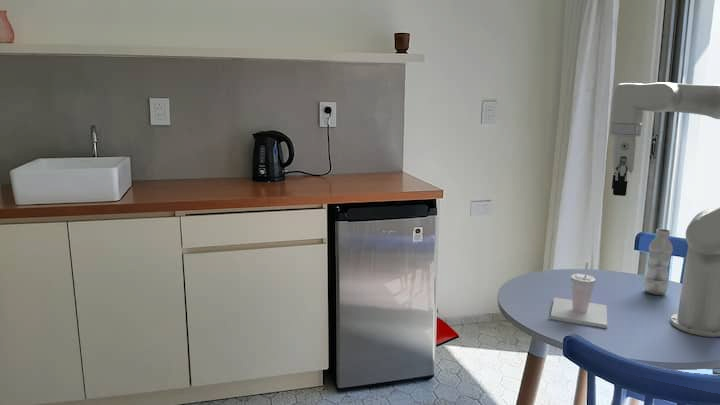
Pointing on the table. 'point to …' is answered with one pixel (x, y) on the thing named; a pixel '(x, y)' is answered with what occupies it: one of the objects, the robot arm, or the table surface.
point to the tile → (592, 317)
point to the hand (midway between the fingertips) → (618, 192)
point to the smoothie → (582, 290)
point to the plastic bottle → (658, 263)
